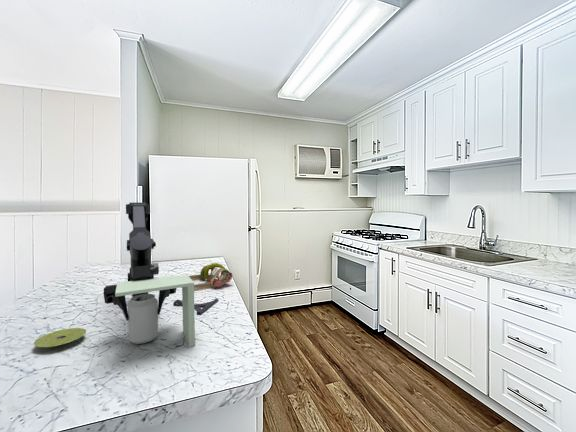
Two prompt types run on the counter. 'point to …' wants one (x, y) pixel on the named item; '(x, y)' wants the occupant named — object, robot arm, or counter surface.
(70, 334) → the olive green disc
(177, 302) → the bracket
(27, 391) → the counter surface
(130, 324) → the can
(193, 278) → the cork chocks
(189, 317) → the shelf
